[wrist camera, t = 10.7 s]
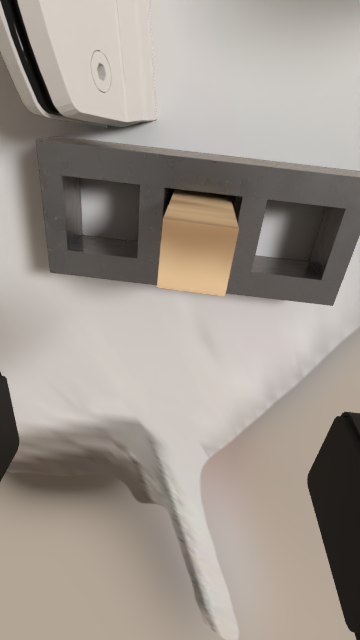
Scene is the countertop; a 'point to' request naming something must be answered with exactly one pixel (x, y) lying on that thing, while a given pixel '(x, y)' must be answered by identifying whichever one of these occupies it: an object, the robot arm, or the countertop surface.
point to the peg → (197, 242)
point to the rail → (204, 176)
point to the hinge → (81, 59)
